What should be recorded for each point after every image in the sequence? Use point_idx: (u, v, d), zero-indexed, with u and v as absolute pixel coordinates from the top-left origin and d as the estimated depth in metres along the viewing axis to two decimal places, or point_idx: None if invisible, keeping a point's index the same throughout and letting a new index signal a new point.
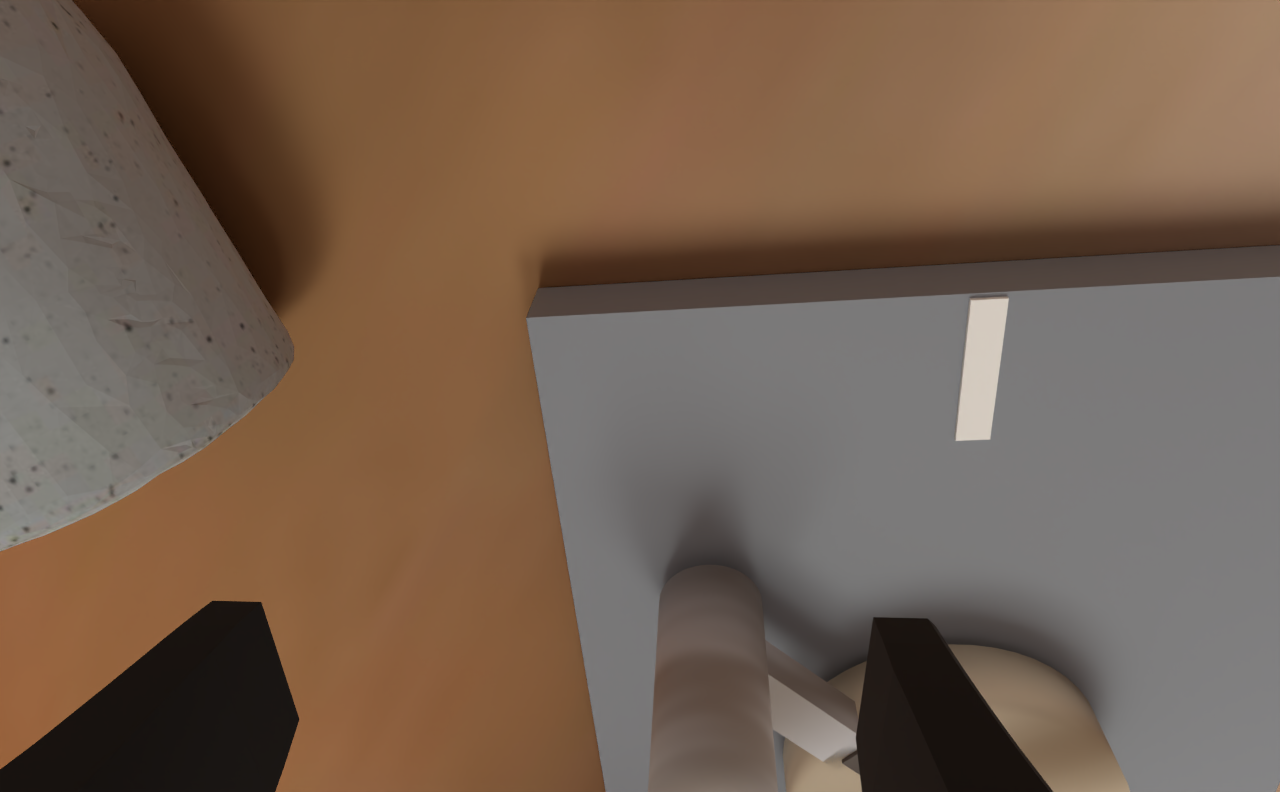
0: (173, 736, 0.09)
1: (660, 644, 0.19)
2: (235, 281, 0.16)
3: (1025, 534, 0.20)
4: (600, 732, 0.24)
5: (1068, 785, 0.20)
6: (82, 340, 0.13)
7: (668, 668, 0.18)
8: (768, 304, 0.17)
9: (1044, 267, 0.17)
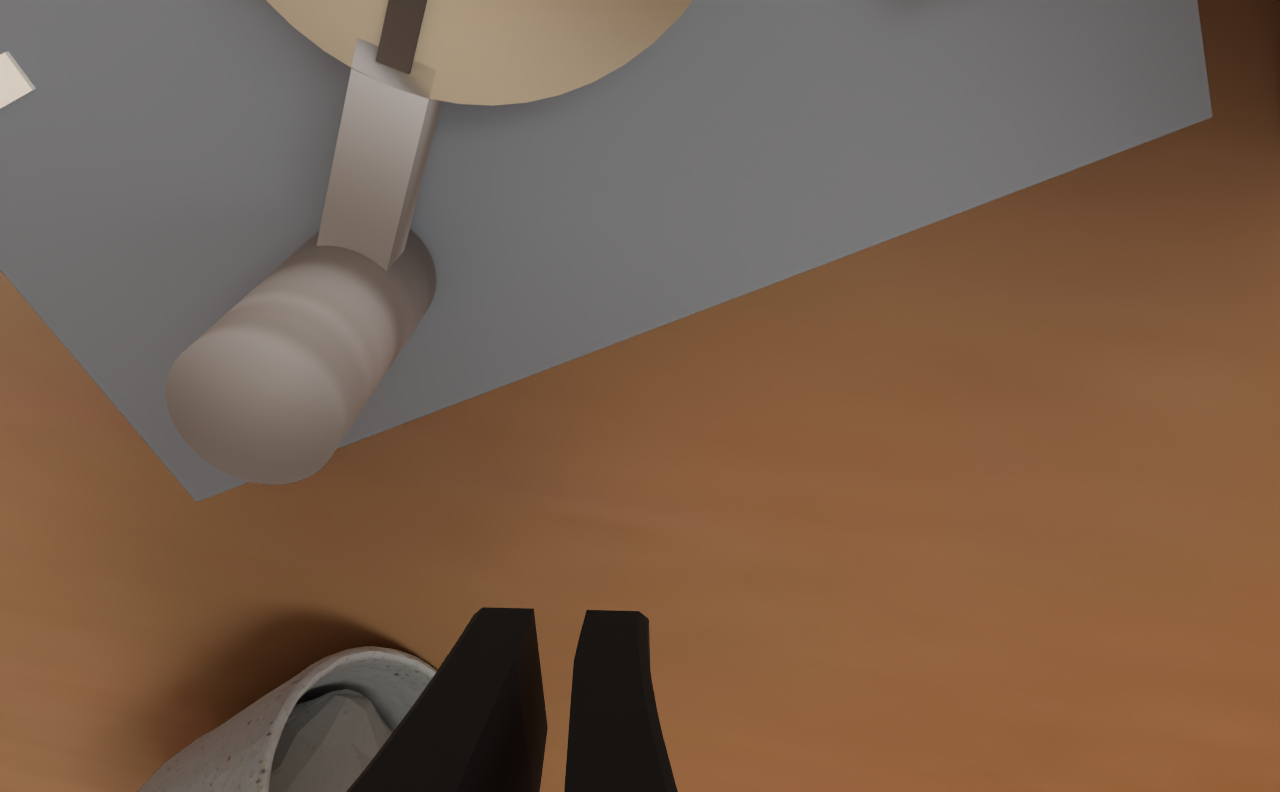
0: (494, 746, 0.08)
1: None
2: (248, 712, 0.22)
3: None
4: (685, 310, 0.17)
5: None
6: None
7: None
8: (50, 328, 0.18)
9: None
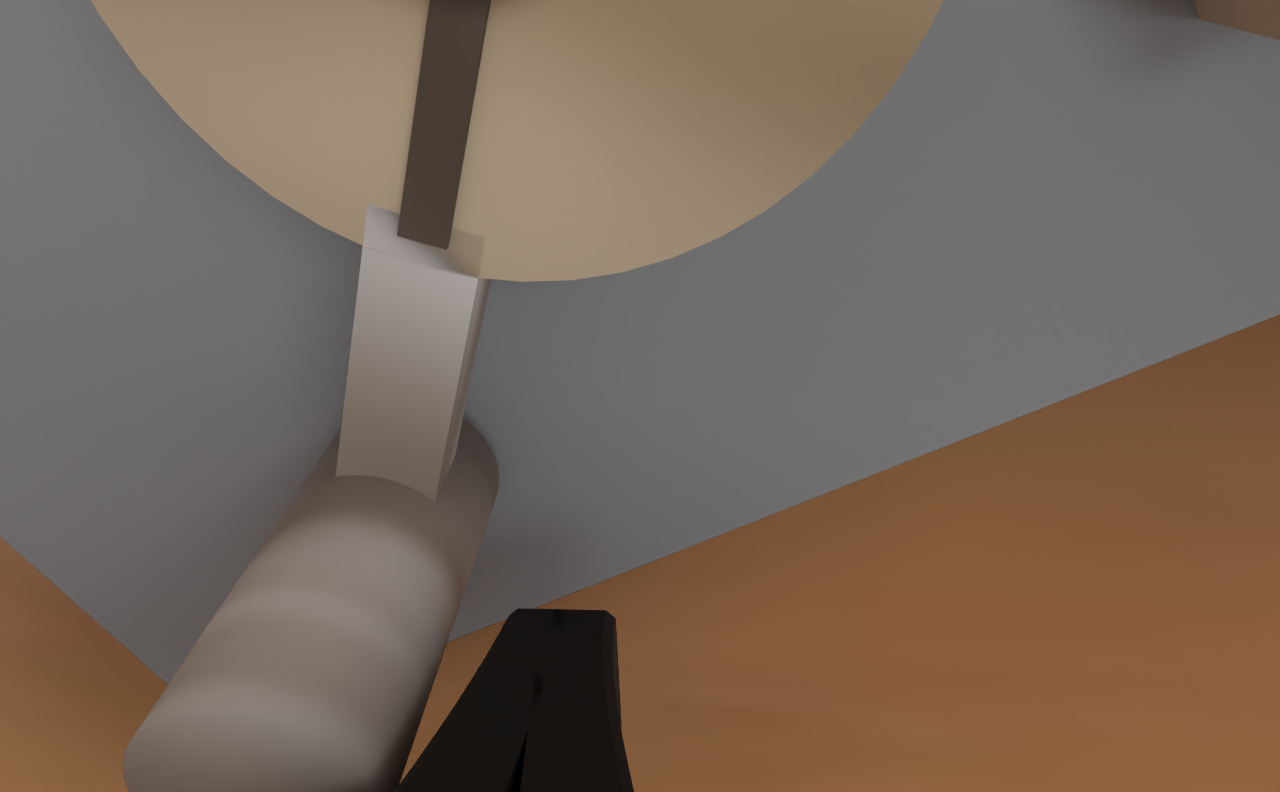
0: None
1: None
2: None
3: None
4: (833, 482, 0.13)
5: None
6: None
7: None
8: (20, 552, 0.14)
9: None
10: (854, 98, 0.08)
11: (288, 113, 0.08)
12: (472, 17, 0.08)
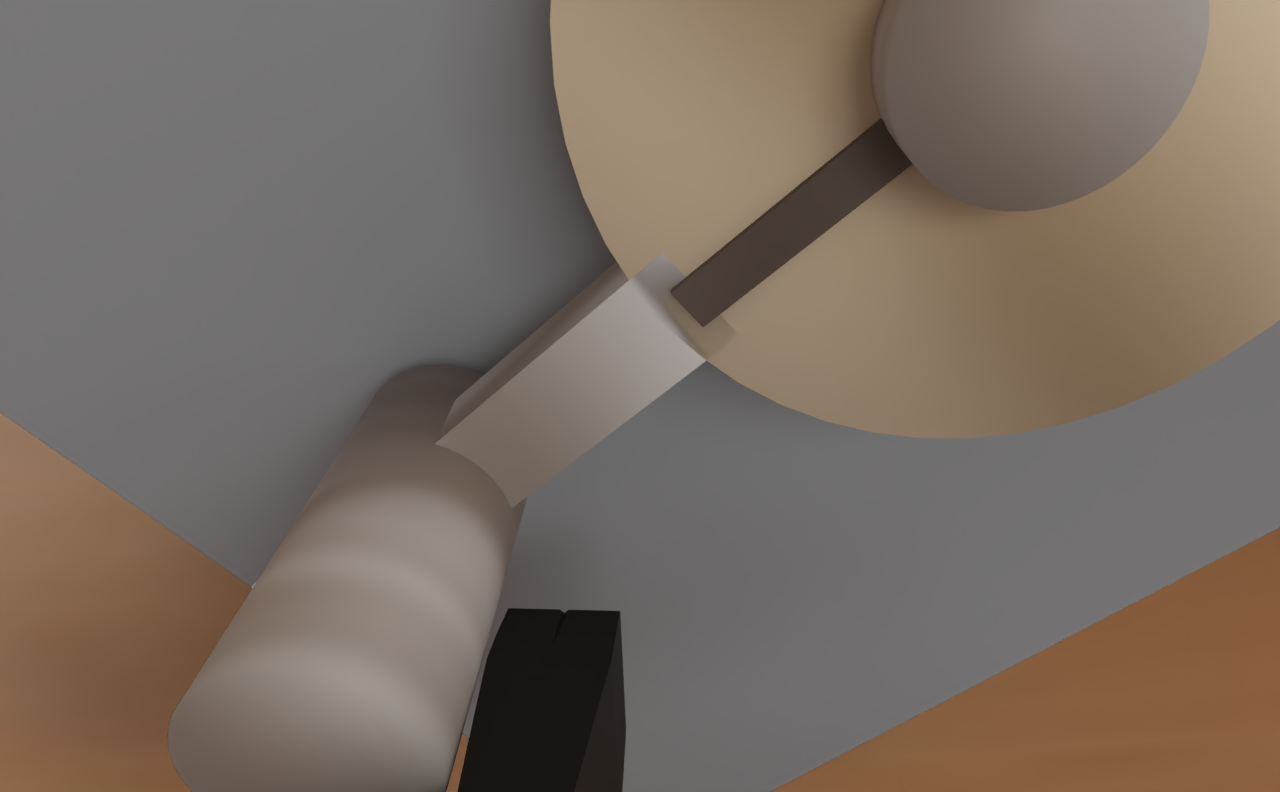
0: (598, 750, 0.08)
1: None
2: None
3: (431, 321, 0.12)
4: (1259, 530, 0.13)
5: None
6: None
7: None
8: None
9: None
10: (1087, 400, 0.09)
11: (656, 142, 0.08)
12: (871, 173, 0.08)
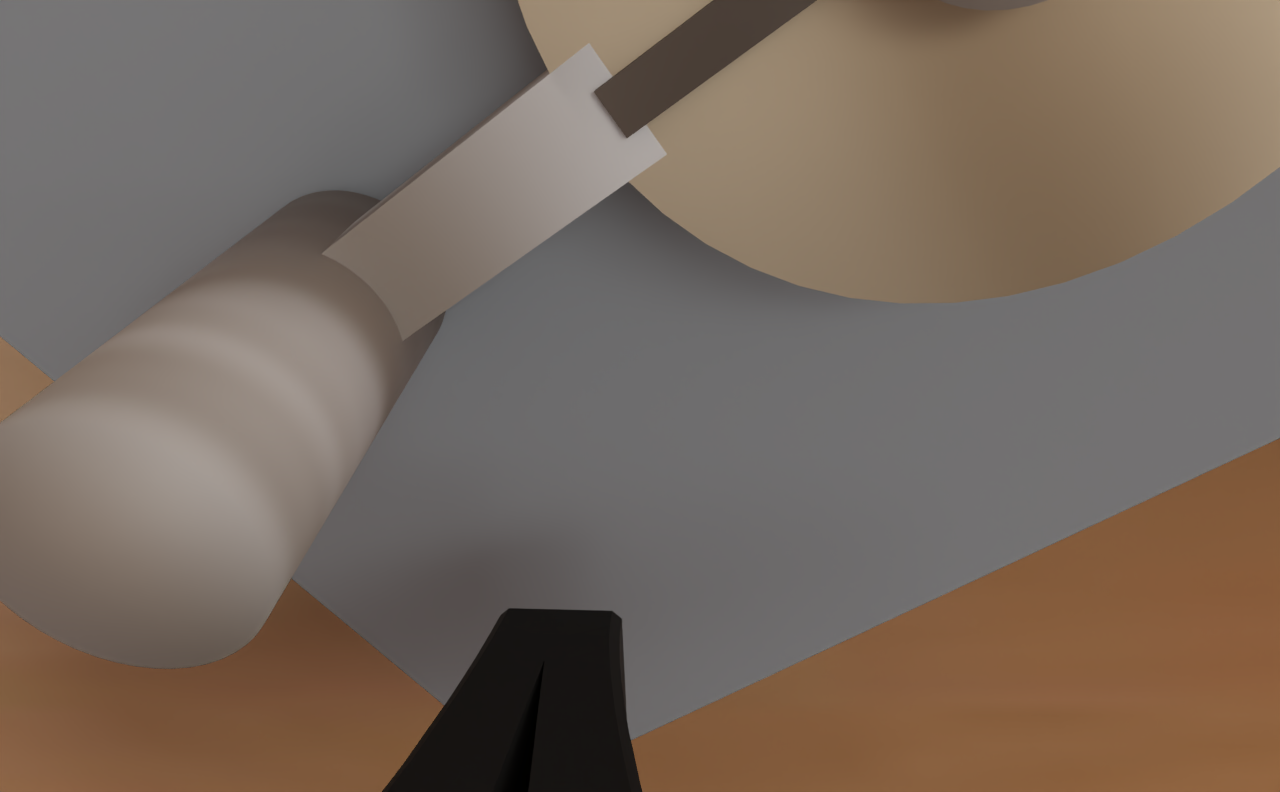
0: (525, 747, 0.08)
1: None
2: None
3: (346, 152, 0.11)
4: (1199, 467, 0.12)
5: None
6: None
7: None
8: (352, 627, 0.15)
9: None
10: (1031, 270, 0.09)
11: None
12: None
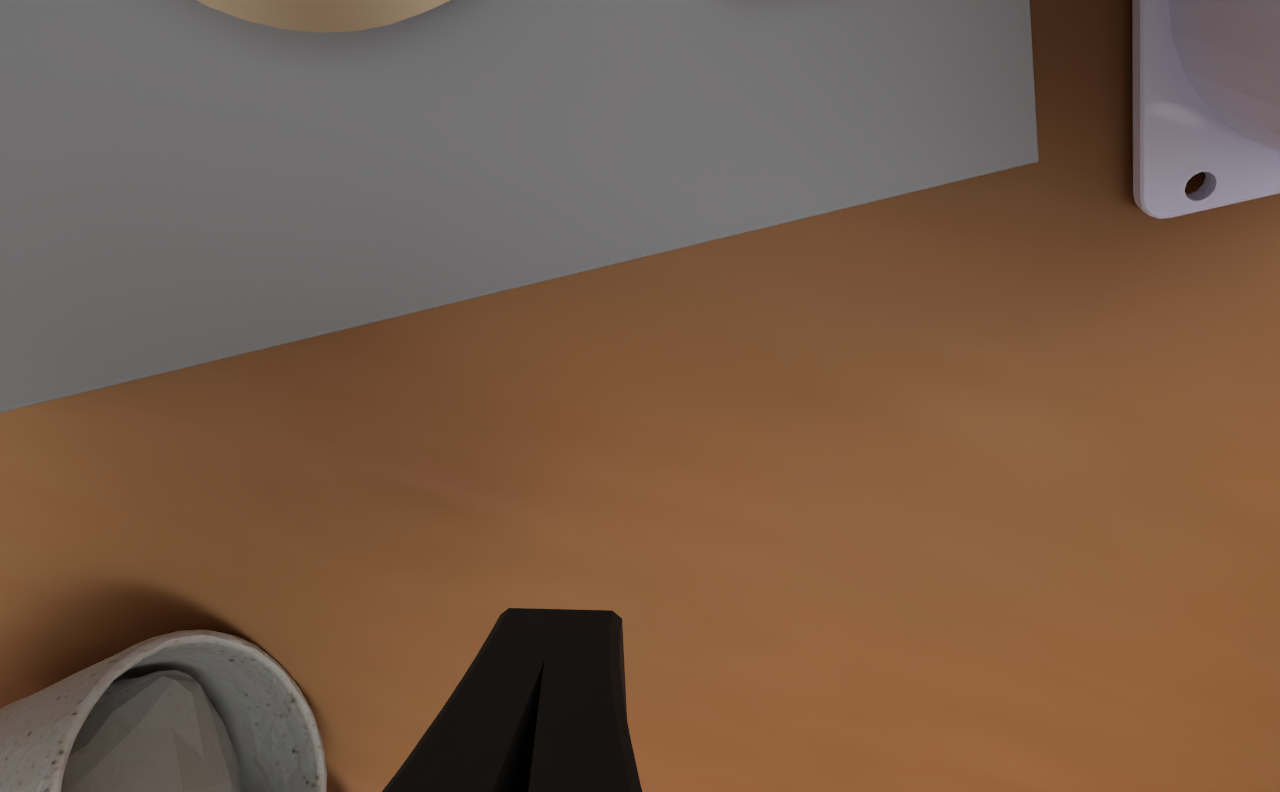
0: (526, 747, 0.08)
1: None
2: (61, 686, 0.21)
3: None
4: (508, 283, 0.17)
5: None
6: None
7: None
8: None
9: None
10: (297, 15, 0.12)
11: None
12: None
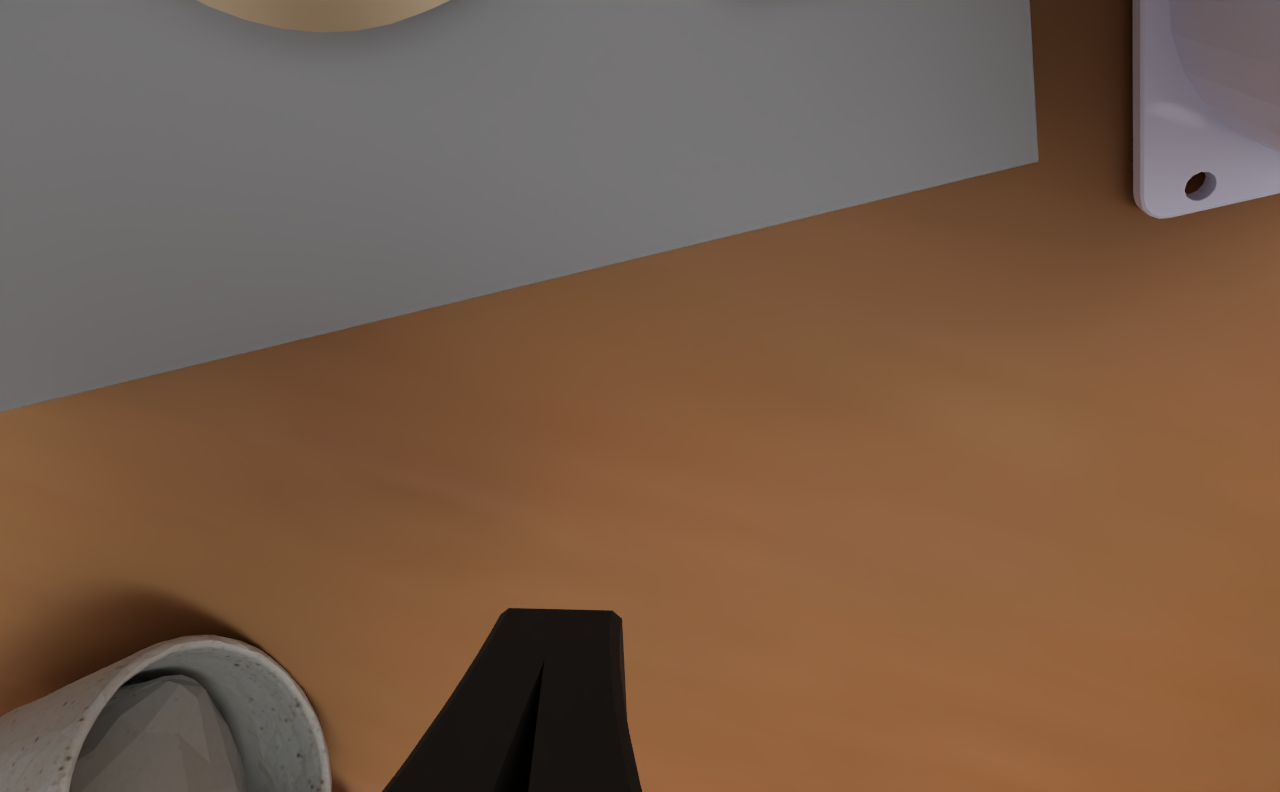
0: (526, 747, 0.08)
1: None
2: (68, 691, 0.21)
3: None
4: (508, 282, 0.17)
5: None
6: None
7: None
8: None
9: None
10: (297, 14, 0.12)
11: None
12: None
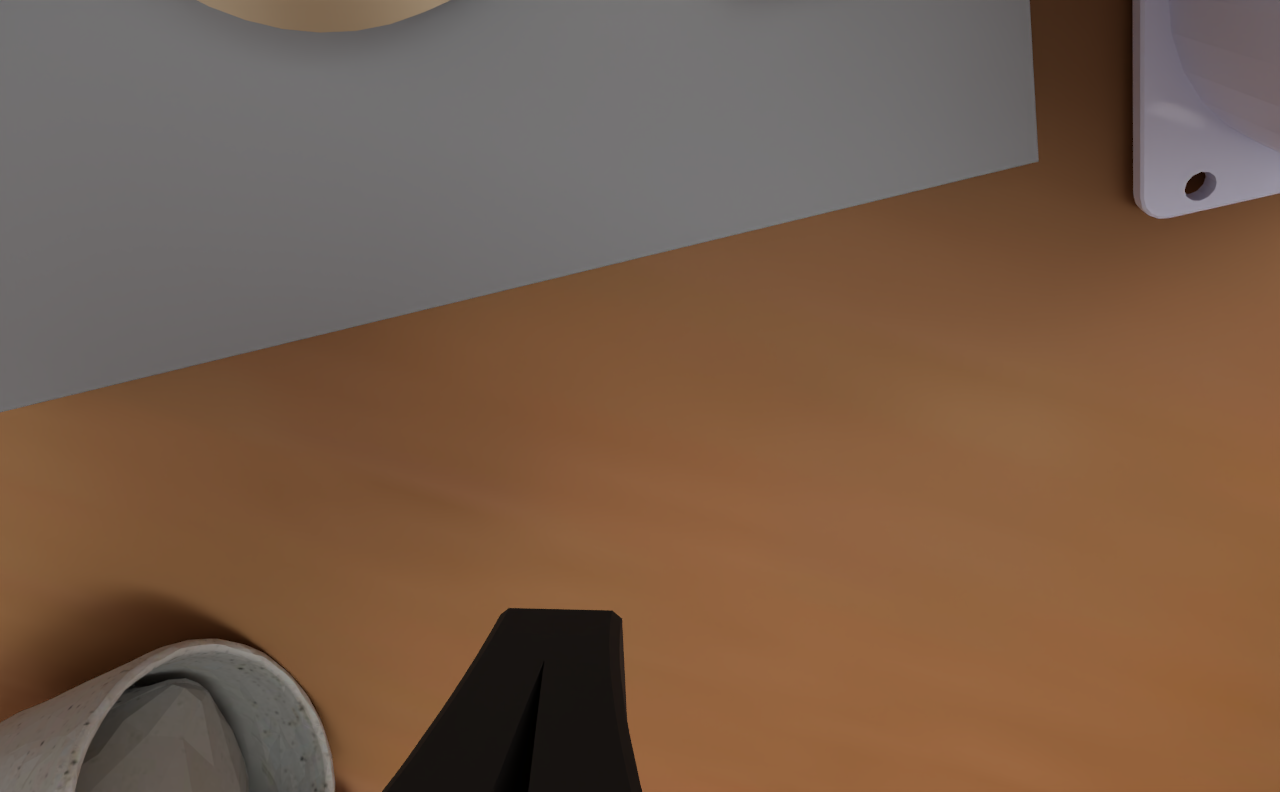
0: (526, 747, 0.08)
1: None
2: (73, 695, 0.21)
3: None
4: (508, 282, 0.17)
5: None
6: None
7: None
8: None
9: None
10: (297, 14, 0.12)
11: None
12: None
